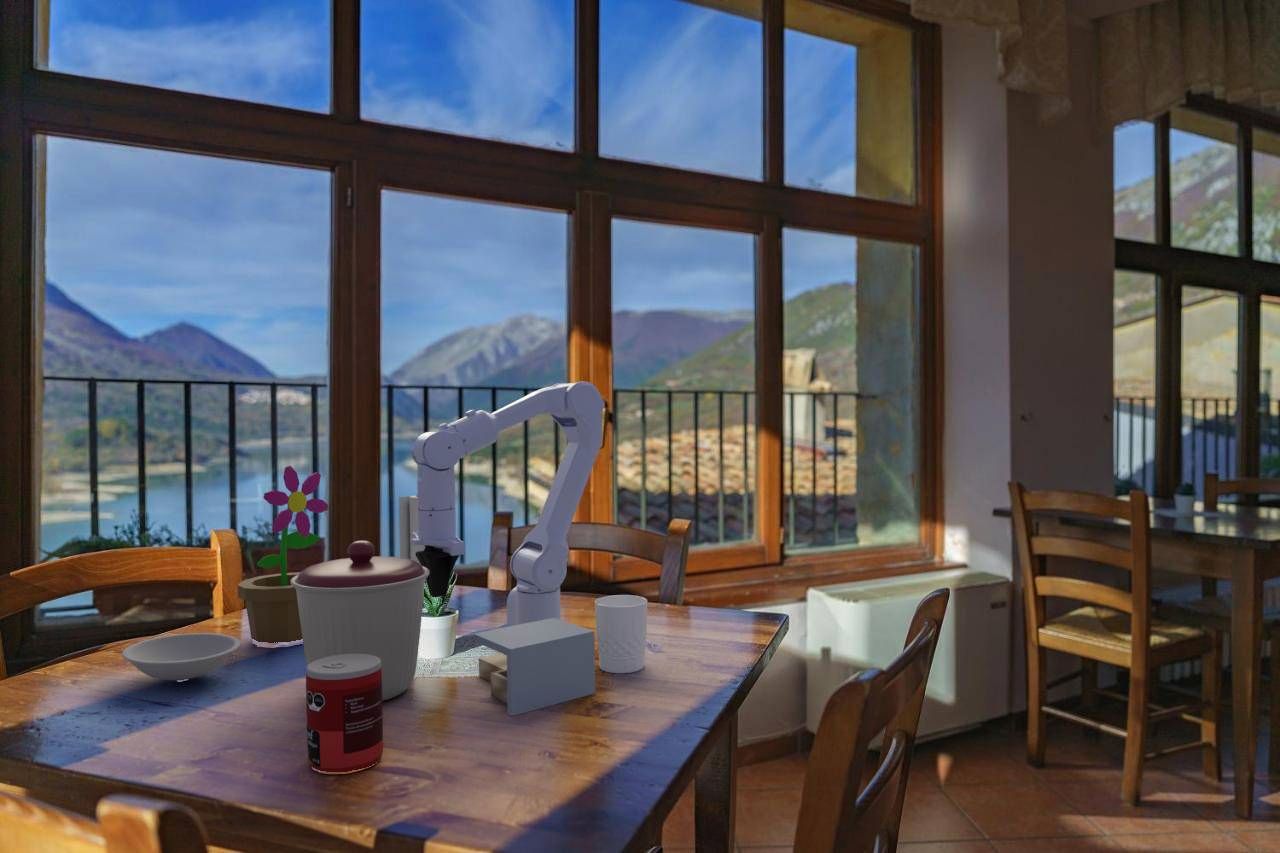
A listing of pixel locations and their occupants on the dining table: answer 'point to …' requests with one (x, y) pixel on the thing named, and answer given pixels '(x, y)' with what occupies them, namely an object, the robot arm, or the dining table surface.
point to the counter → (544, 662)
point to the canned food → (344, 712)
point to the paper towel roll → (408, 527)
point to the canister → (364, 611)
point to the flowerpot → (282, 565)
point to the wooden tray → (495, 674)
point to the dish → (181, 654)
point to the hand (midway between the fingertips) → (438, 595)
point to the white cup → (621, 632)
